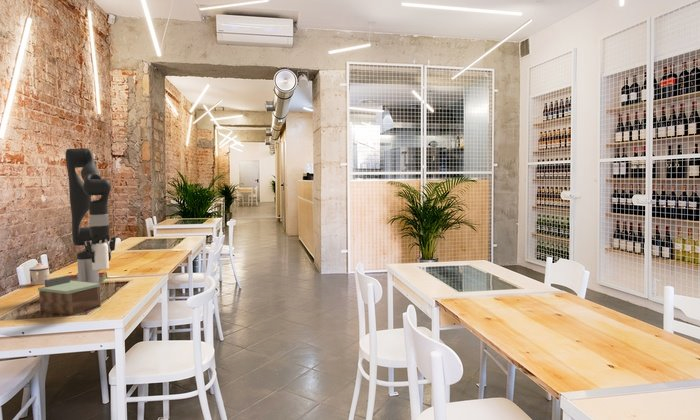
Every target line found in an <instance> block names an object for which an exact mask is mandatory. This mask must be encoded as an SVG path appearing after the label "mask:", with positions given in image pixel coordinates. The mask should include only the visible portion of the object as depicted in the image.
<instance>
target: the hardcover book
mask: <svg viewBox="0 0 700 420" xmlns="http://www.w3.org/2000/svg"><path fill="white" fill-rule="evenodd" d="M65 276H70V281H77V274H69V275H65ZM107 278H108V272H106V271H104V272H99V283H103V282H104V281H105V280H106V279H107Z"/></svg>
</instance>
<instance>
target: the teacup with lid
mask: <svg viewBox="0 0 700 420" xmlns="http://www.w3.org/2000/svg"><path fill="white" fill-rule="evenodd" d="M29 278H30V285H31V286H41V284H42V285H45V280H47V279H50V273H49V266H47V265H44V264H42V263H41V262H37V263H36V265H33V267H30V268H29Z"/></svg>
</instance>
